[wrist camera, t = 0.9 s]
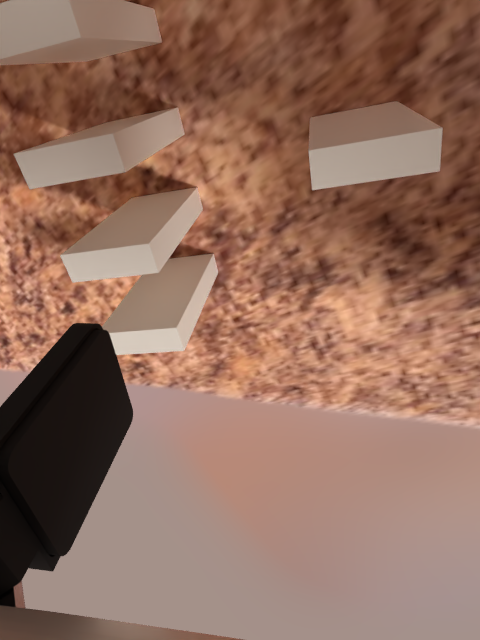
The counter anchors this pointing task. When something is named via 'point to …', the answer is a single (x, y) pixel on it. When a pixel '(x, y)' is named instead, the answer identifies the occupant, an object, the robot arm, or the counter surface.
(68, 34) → the domino
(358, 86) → the counter surface
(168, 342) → the domino
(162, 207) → the domino
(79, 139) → the domino
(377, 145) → the domino
